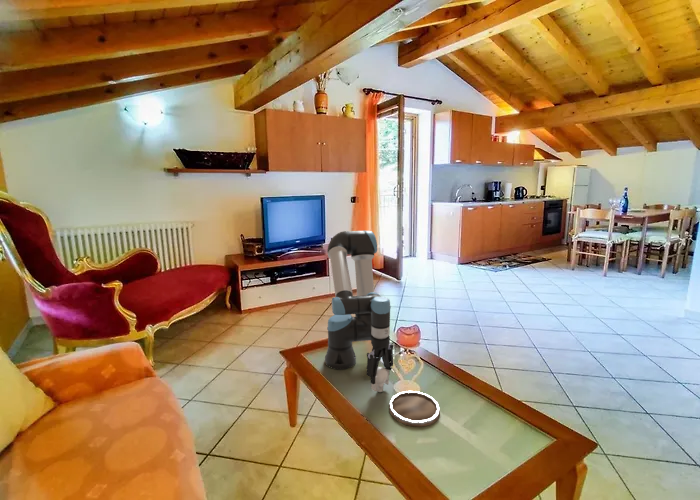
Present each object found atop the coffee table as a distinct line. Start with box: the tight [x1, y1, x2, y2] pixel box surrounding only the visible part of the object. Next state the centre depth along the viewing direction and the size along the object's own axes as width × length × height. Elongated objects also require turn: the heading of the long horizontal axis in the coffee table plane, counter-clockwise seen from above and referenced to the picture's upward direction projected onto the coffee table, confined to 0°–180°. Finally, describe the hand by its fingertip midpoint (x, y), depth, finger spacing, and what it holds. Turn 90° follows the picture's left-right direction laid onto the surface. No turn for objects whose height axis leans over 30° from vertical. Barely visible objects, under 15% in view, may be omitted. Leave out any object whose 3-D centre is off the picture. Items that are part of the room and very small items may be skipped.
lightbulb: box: [376, 366, 388, 393], centre depth 147 cm, size 6×6×11 cm
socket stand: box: [388, 390, 441, 428], centre depth 136 cm, size 19×19×2 cm
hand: (380, 386), depth 147 cm, fingers closed on lightbulb, 6 cm apart
